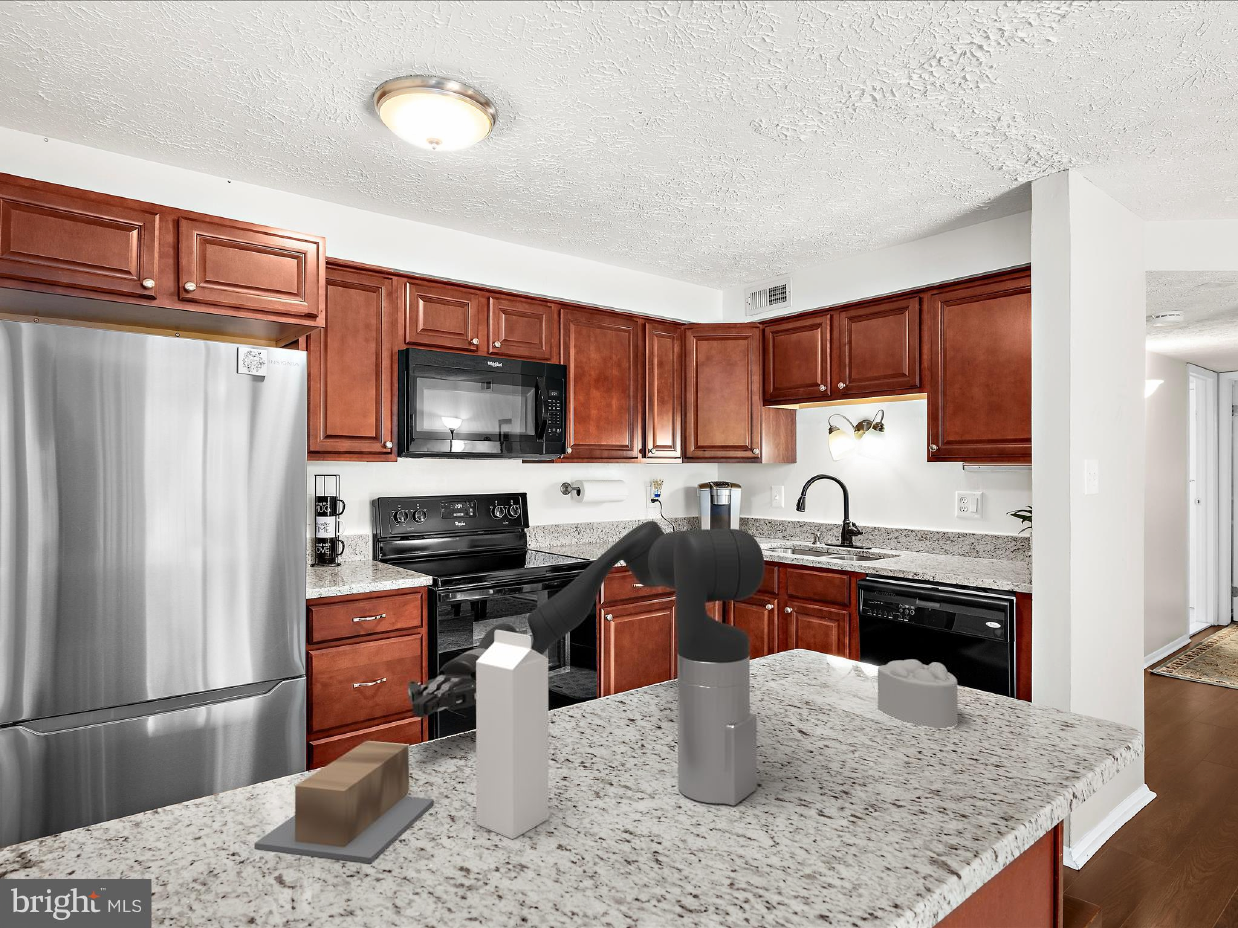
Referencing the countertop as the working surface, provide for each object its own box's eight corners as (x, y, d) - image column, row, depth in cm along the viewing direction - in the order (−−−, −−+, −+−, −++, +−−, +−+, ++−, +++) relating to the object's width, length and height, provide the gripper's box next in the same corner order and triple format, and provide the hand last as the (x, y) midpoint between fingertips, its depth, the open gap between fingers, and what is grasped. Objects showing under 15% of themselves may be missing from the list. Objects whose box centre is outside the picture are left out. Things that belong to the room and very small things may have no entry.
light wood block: (367, 739, 93) (295, 785, 80) (409, 743, 92) (344, 790, 78) (367, 787, 93) (295, 841, 80) (409, 791, 92) (344, 847, 78)
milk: (512, 806, 89) (512, 624, 90) (549, 819, 86) (549, 630, 86) (474, 825, 84) (475, 633, 85) (512, 840, 81) (512, 640, 81)
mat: (332, 793, 93) (332, 788, 93) (433, 803, 90) (433, 799, 90) (254, 848, 79) (254, 842, 79) (370, 863, 76) (370, 857, 76)
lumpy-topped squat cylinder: (920, 702, 129) (919, 653, 129) (975, 726, 117) (975, 672, 117) (869, 707, 126) (869, 657, 126) (920, 733, 114) (920, 677, 114)
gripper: (509, 701, 116) (463, 740, 99) (432, 698, 119) (375, 735, 102) (509, 654, 116) (462, 684, 99) (432, 651, 119) (374, 680, 102)
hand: (418, 710), depth 100 cm, fingers closed
